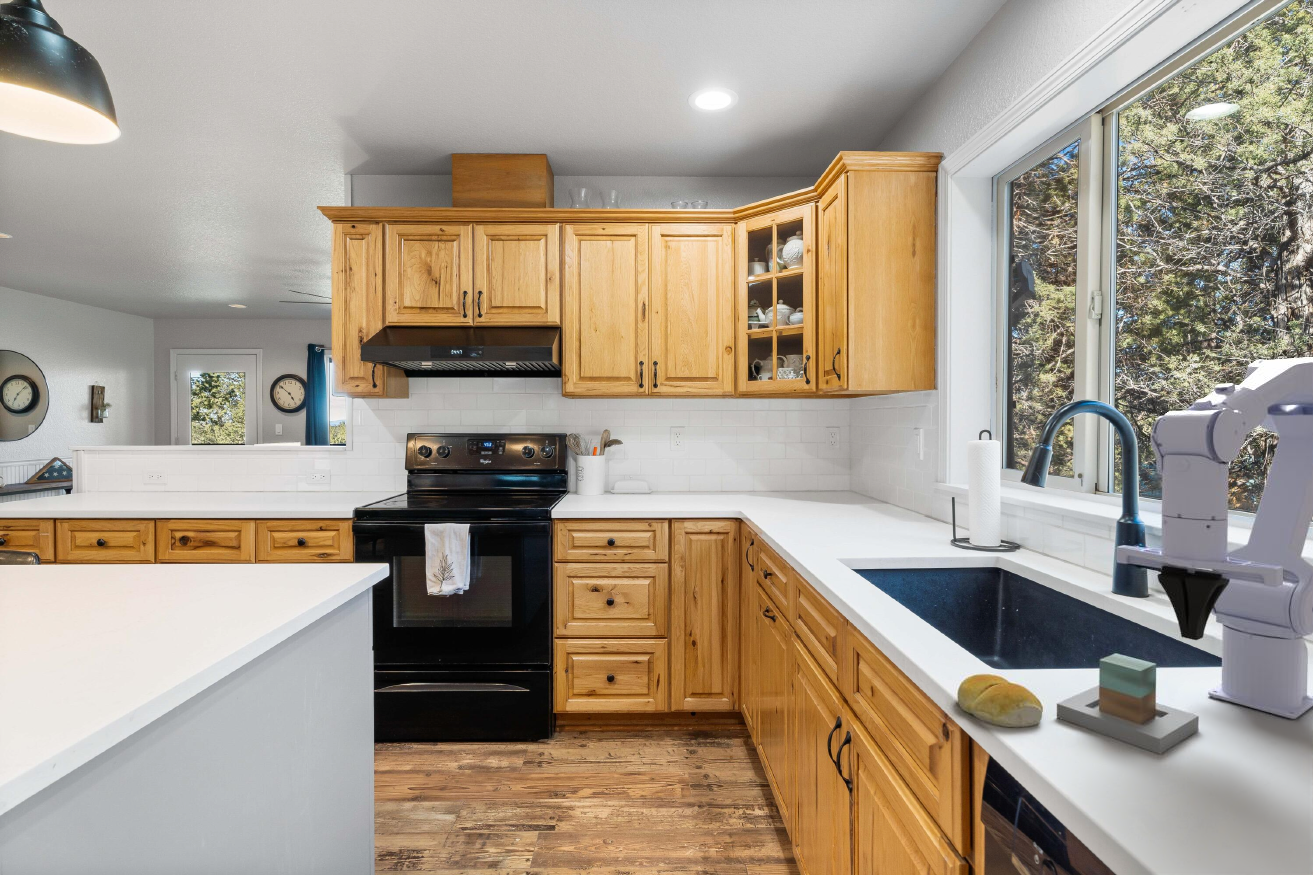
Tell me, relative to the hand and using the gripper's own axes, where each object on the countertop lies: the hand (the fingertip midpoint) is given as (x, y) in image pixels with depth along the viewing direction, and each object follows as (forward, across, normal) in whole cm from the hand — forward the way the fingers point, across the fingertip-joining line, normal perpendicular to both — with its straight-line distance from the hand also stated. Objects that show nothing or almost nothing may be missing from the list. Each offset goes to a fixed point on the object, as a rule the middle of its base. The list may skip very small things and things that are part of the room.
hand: (1192, 637), depth 73 cm
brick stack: (+9, -4, -6) cm, 11 cm away
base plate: (+10, -4, -6) cm, 12 cm away
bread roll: (+10, -14, -15) cm, 23 cm away
